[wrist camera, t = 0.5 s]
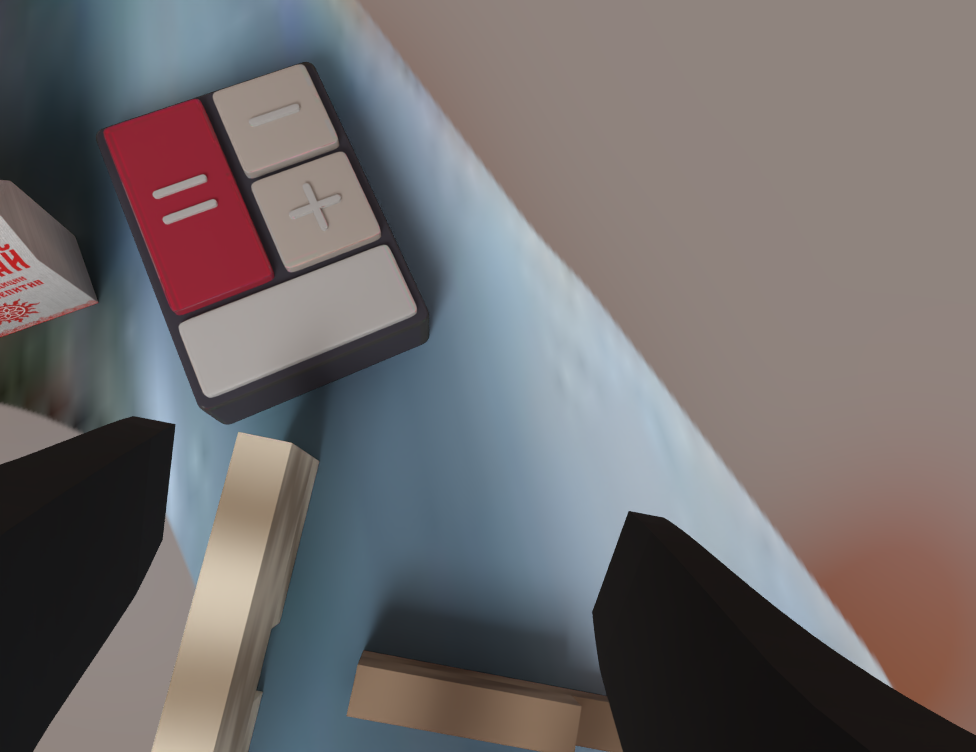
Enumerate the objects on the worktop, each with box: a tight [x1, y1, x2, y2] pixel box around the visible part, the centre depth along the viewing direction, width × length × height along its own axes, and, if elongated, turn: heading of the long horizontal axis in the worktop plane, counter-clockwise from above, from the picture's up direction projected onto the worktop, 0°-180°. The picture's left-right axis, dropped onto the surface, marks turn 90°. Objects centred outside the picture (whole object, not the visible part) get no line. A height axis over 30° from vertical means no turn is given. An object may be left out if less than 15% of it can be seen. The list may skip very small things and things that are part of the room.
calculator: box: [96, 62, 429, 424], centre depth 35 cm, size 11×4×15 cm
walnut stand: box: [347, 651, 623, 752], centre depth 32 cm, size 22×2×4 cm, turn 79°
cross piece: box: [152, 432, 319, 752], centre depth 29 cm, size 18×2×8 cm, turn 169°
